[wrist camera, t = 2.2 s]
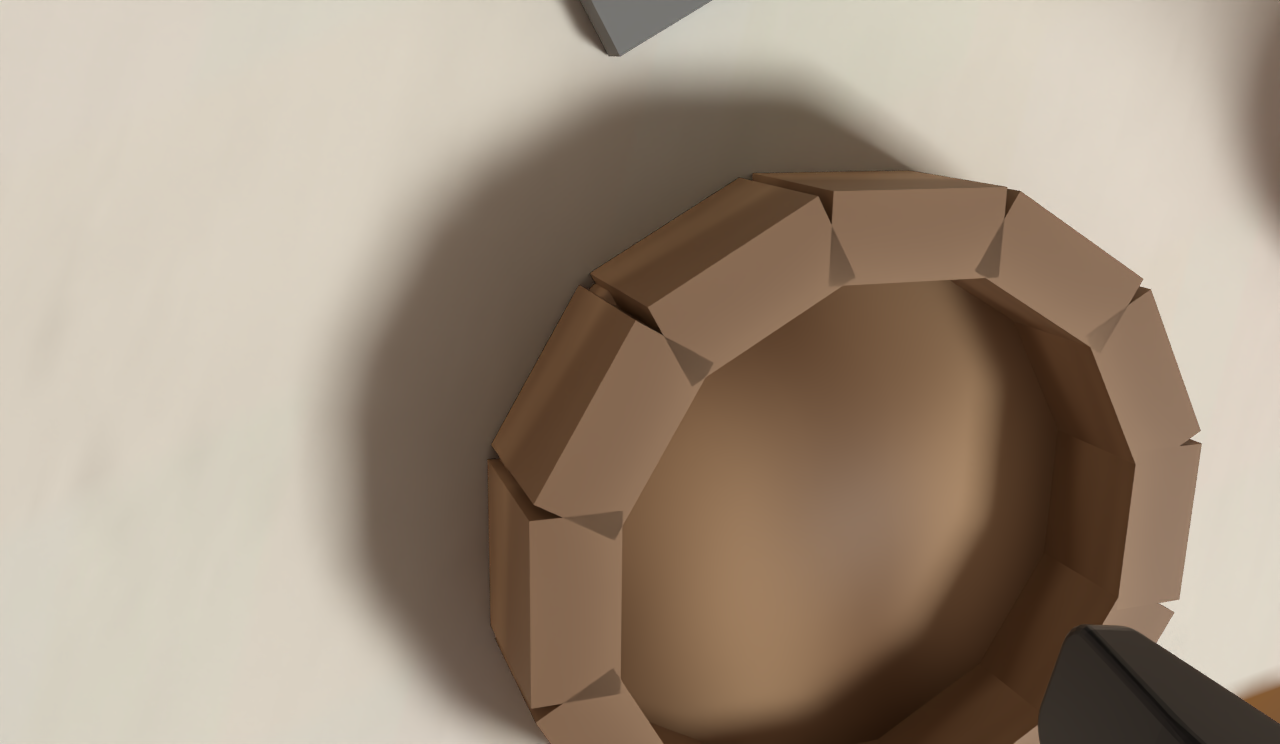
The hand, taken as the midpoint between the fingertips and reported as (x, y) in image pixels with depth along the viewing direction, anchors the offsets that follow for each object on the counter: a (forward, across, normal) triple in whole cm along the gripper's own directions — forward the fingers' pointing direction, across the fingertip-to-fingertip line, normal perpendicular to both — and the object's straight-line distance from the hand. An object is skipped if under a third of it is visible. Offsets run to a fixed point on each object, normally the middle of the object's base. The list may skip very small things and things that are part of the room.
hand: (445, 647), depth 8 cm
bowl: (+13, -7, +7) cm, 16 cm away
